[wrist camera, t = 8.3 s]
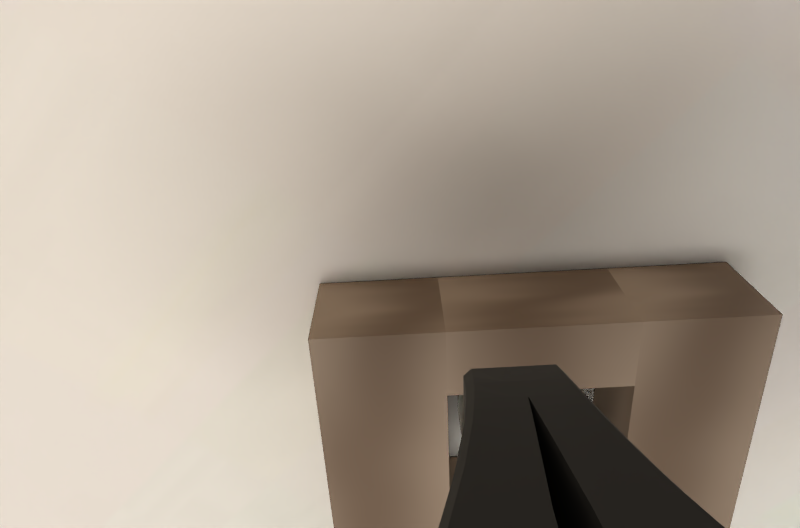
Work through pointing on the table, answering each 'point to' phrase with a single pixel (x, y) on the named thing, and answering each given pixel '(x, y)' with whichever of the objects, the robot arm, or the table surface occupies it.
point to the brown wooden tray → (527, 346)
